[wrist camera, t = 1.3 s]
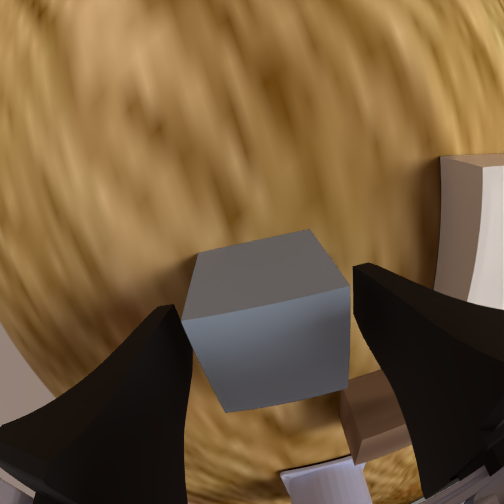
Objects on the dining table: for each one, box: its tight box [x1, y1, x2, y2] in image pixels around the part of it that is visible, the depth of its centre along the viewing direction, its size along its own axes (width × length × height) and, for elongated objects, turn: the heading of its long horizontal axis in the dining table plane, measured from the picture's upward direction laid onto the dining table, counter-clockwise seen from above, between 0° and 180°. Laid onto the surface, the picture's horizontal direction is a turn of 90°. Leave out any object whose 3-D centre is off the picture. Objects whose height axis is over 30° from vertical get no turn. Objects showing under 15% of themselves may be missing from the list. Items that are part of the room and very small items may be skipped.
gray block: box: [181, 229, 350, 413], centre depth 9 cm, size 4×4×4 cm
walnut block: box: [339, 369, 412, 466], centre depth 12 cm, size 4×4×4 cm
